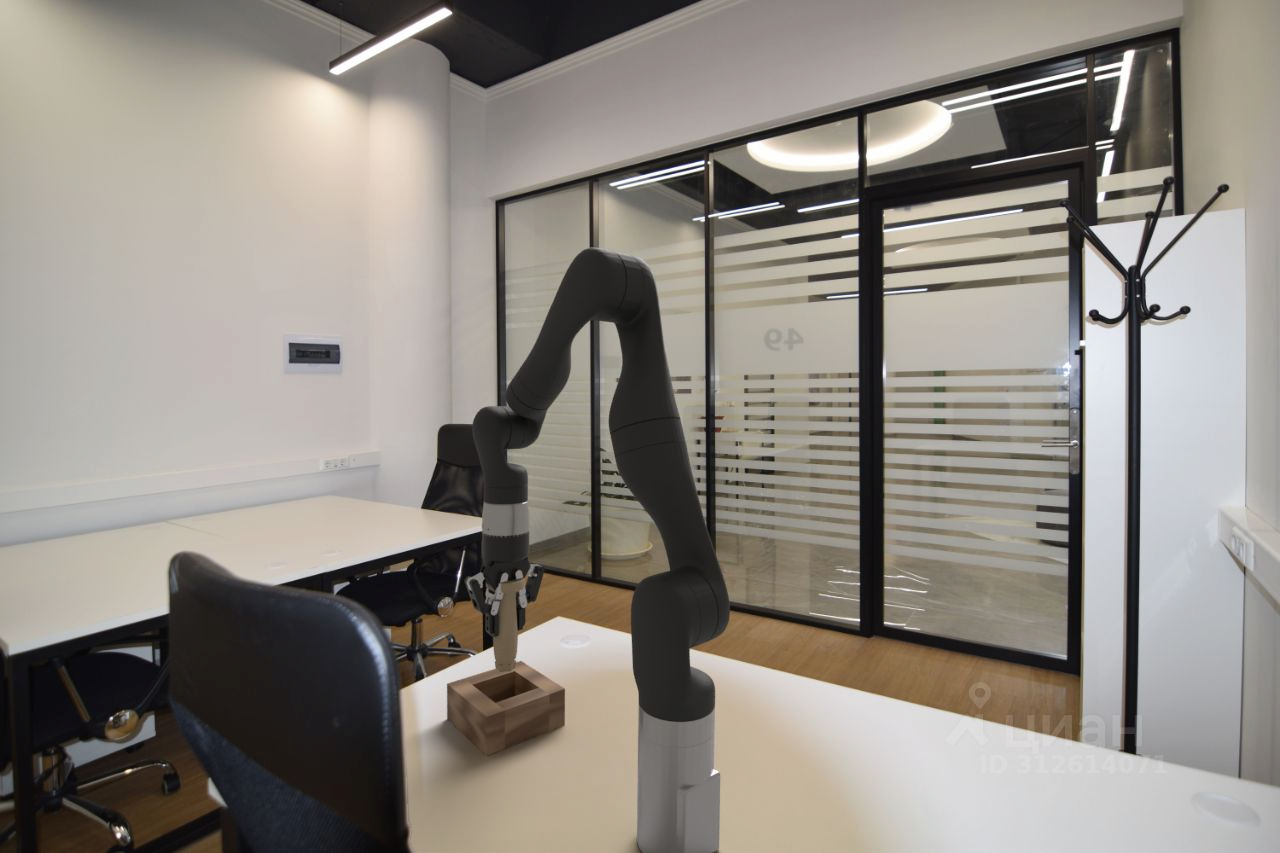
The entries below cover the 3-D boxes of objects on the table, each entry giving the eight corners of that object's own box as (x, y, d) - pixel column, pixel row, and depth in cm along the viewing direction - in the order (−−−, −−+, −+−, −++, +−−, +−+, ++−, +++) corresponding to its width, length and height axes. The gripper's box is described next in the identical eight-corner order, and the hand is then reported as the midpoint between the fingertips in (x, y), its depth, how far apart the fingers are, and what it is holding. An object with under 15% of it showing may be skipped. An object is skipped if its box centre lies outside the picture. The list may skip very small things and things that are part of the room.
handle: (514, 678, 100) (514, 585, 99) (480, 671, 102) (480, 580, 101) (530, 666, 104) (530, 577, 103) (497, 659, 107) (497, 572, 106)
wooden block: (564, 724, 103) (564, 688, 103) (486, 755, 94) (486, 716, 93) (521, 693, 113) (521, 660, 113) (447, 718, 104) (447, 683, 104)
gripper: (476, 539, 94) (476, 650, 95) (555, 526, 104) (555, 628, 105) (454, 530, 100) (454, 636, 101) (531, 519, 109) (531, 616, 110)
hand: (505, 631), depth 103 cm, fingers closed on handle, 4 cm apart
